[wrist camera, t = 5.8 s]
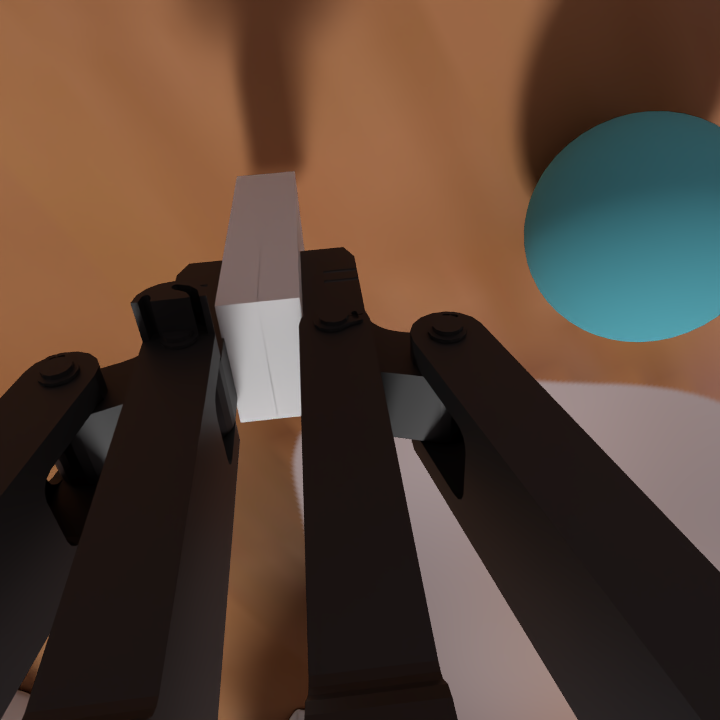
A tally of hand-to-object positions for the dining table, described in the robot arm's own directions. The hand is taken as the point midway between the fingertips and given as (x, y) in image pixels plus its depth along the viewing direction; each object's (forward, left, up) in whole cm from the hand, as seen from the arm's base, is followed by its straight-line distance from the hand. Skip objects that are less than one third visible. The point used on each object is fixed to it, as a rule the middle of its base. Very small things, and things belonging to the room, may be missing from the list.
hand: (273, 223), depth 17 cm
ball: (+1, +10, +1) cm, 10 cm away
